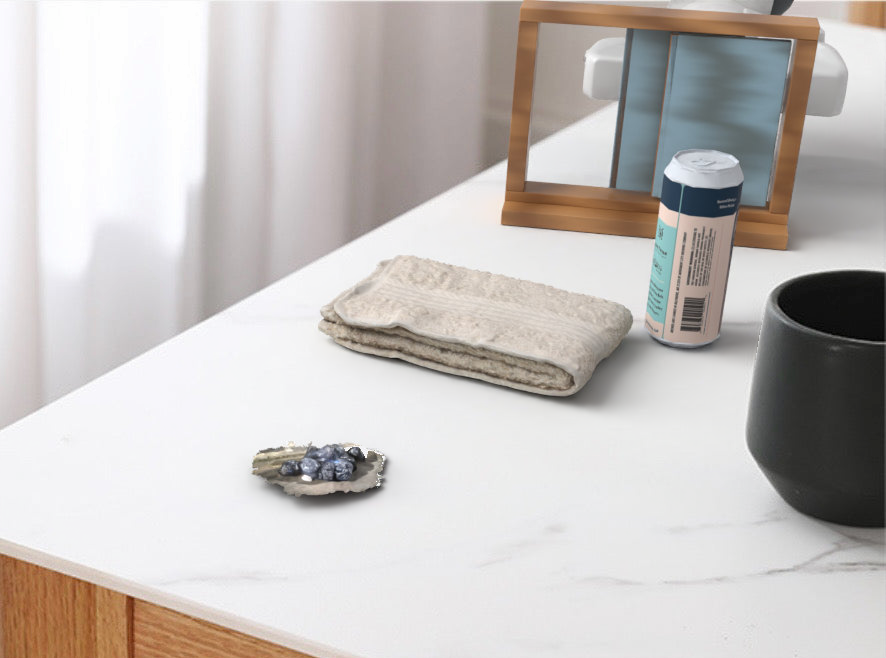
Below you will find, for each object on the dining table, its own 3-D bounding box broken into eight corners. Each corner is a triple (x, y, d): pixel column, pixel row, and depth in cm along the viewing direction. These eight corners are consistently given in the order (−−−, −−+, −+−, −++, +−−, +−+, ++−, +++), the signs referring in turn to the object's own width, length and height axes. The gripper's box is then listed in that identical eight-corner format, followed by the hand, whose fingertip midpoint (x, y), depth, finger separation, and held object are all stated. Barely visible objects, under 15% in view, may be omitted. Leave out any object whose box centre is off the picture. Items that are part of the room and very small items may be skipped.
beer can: (733, 337, 102) (761, 160, 96) (691, 359, 99) (718, 177, 93) (670, 315, 105) (694, 141, 99) (628, 335, 102) (650, 157, 96)
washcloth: (386, 282, 109) (388, 240, 108) (637, 336, 102) (643, 292, 100) (307, 345, 100) (308, 300, 98) (578, 409, 92) (583, 362, 91)
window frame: (781, 217, 121) (815, 10, 114) (786, 250, 115) (822, 33, 108) (509, 194, 125) (526, -8, 118) (500, 224, 119) (517, 14, 112)
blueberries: (226, 472, 85) (226, 441, 84) (333, 427, 90) (334, 398, 89) (310, 521, 81) (311, 490, 80) (418, 471, 85) (420, 441, 85)
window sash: (720, 176, 123) (743, 18, 117) (721, 198, 118) (745, 34, 113) (611, 167, 125) (629, 11, 119) (608, 188, 120) (626, 27, 114)
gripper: (589, 12, 132) (579, 53, 120) (843, 28, 127) (859, 72, 115) (582, 85, 134) (571, 133, 122) (830, 104, 130) (844, 154, 118)
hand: (713, 103), depth 119 cm, fingers closed on window sash, 2 cm apart
